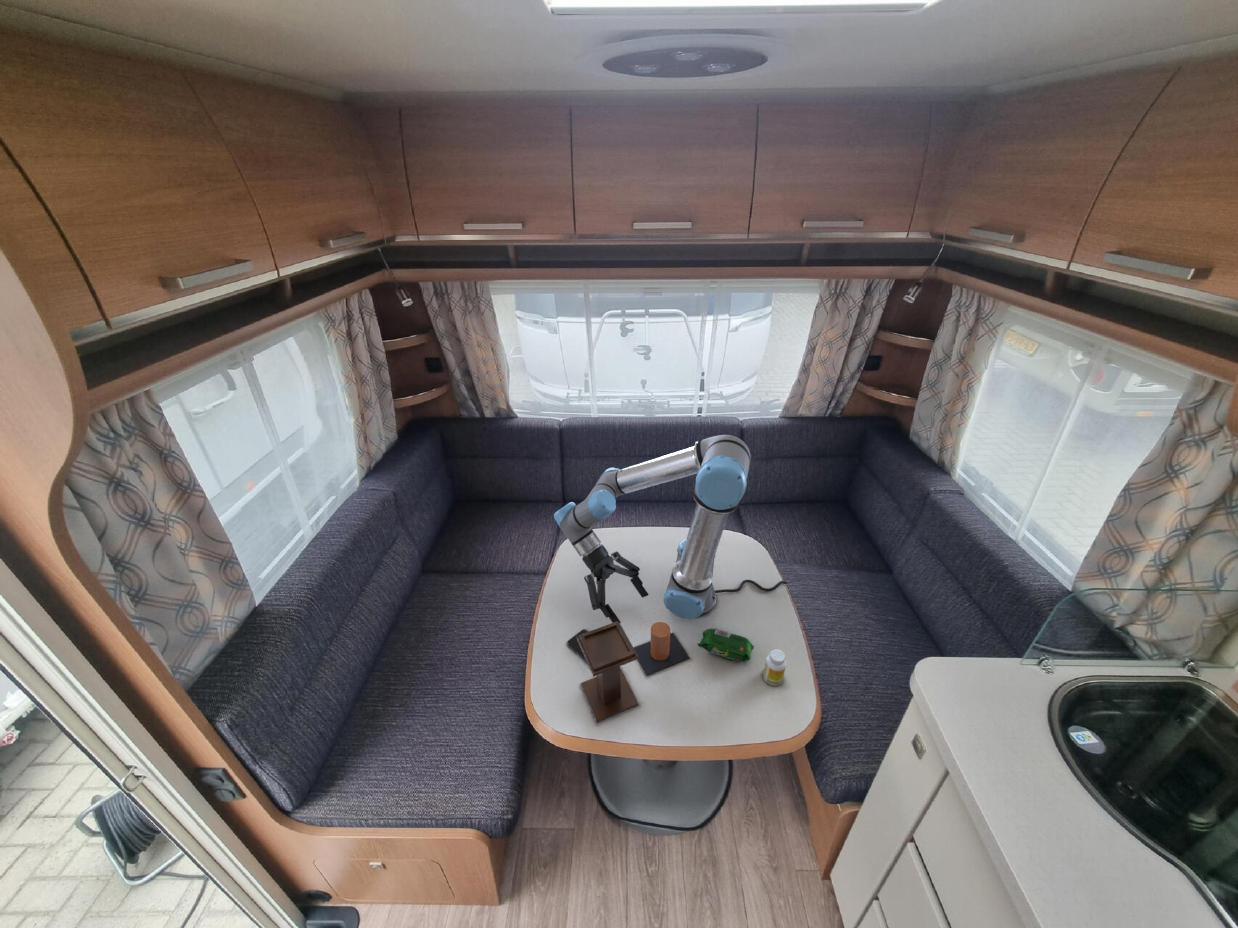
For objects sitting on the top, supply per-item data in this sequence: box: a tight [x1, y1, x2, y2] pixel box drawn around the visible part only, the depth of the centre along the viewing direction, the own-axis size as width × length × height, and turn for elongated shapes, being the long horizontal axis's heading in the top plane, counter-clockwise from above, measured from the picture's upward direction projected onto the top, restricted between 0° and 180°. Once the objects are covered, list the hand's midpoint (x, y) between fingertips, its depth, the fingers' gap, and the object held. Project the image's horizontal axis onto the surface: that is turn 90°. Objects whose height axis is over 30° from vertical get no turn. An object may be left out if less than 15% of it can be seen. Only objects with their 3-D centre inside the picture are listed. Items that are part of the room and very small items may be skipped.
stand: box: [577, 621, 639, 724], centre depth 128 cm, size 12×12×21 cm
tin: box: [650, 621, 672, 661], centre depth 142 cm, size 6×6×10 cm
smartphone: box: [566, 628, 590, 663], centre depth 145 cm, size 8×1×16 cm
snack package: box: [697, 628, 755, 663], centre depth 144 cm, size 7×16×5 cm, turn 69°
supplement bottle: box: [762, 648, 787, 686], centre depth 135 cm, size 5×5×10 cm
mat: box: [633, 632, 690, 677], centre depth 144 cm, size 14×10×1 cm
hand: (632, 609), depth 144 cm, fingers open, 13 cm apart
